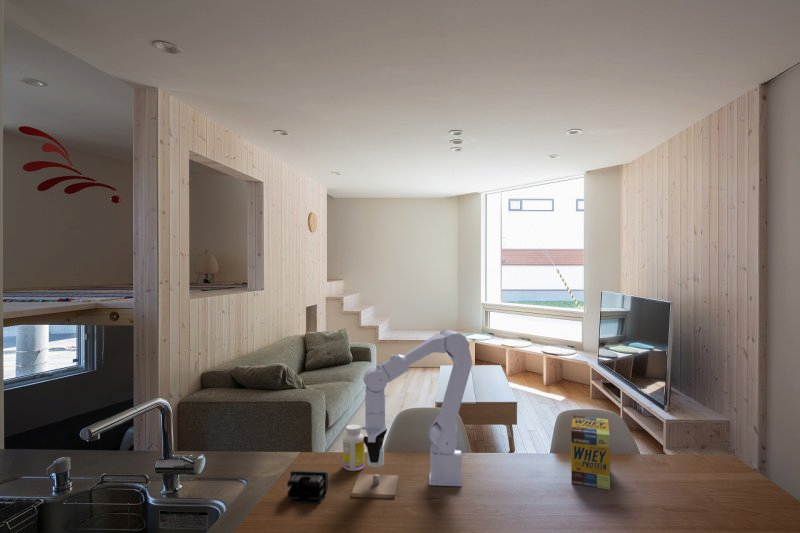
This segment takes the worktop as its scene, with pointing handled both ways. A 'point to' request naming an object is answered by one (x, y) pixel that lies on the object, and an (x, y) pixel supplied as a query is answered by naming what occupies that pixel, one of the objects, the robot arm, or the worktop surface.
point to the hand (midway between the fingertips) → (375, 458)
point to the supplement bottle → (353, 448)
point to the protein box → (590, 452)
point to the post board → (375, 486)
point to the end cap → (307, 487)
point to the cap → (380, 461)
